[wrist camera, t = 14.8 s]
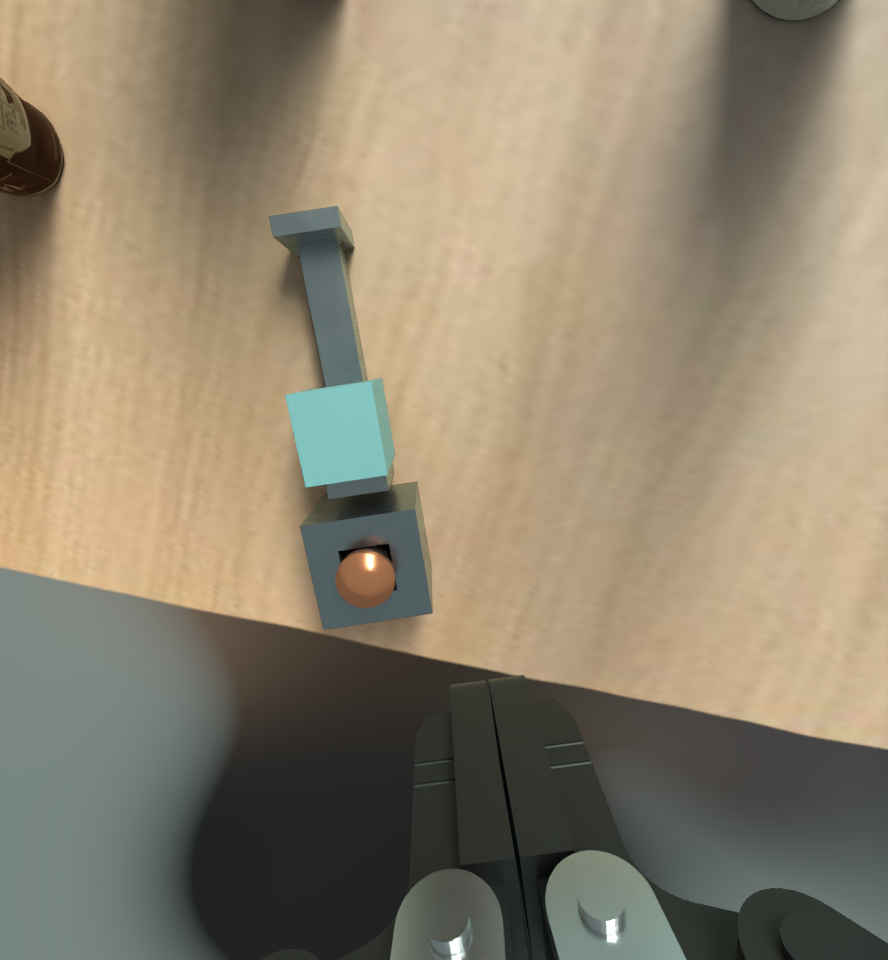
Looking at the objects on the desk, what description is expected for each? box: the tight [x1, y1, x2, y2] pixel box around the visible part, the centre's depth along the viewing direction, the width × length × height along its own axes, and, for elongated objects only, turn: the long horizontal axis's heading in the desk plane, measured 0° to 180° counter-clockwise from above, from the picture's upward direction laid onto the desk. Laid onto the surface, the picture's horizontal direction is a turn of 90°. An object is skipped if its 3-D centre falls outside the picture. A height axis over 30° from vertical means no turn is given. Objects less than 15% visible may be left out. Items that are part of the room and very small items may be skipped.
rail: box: [269, 206, 394, 499], centre depth 36 cm, size 19×4×6 cm, turn 8°
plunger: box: [335, 544, 396, 608], centre depth 36 cm, size 4×4×7 cm
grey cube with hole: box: [300, 482, 433, 630], centre depth 38 cm, size 8×8×8 cm
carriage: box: [285, 379, 395, 487], centre depth 35 cm, size 6×5×8 cm
